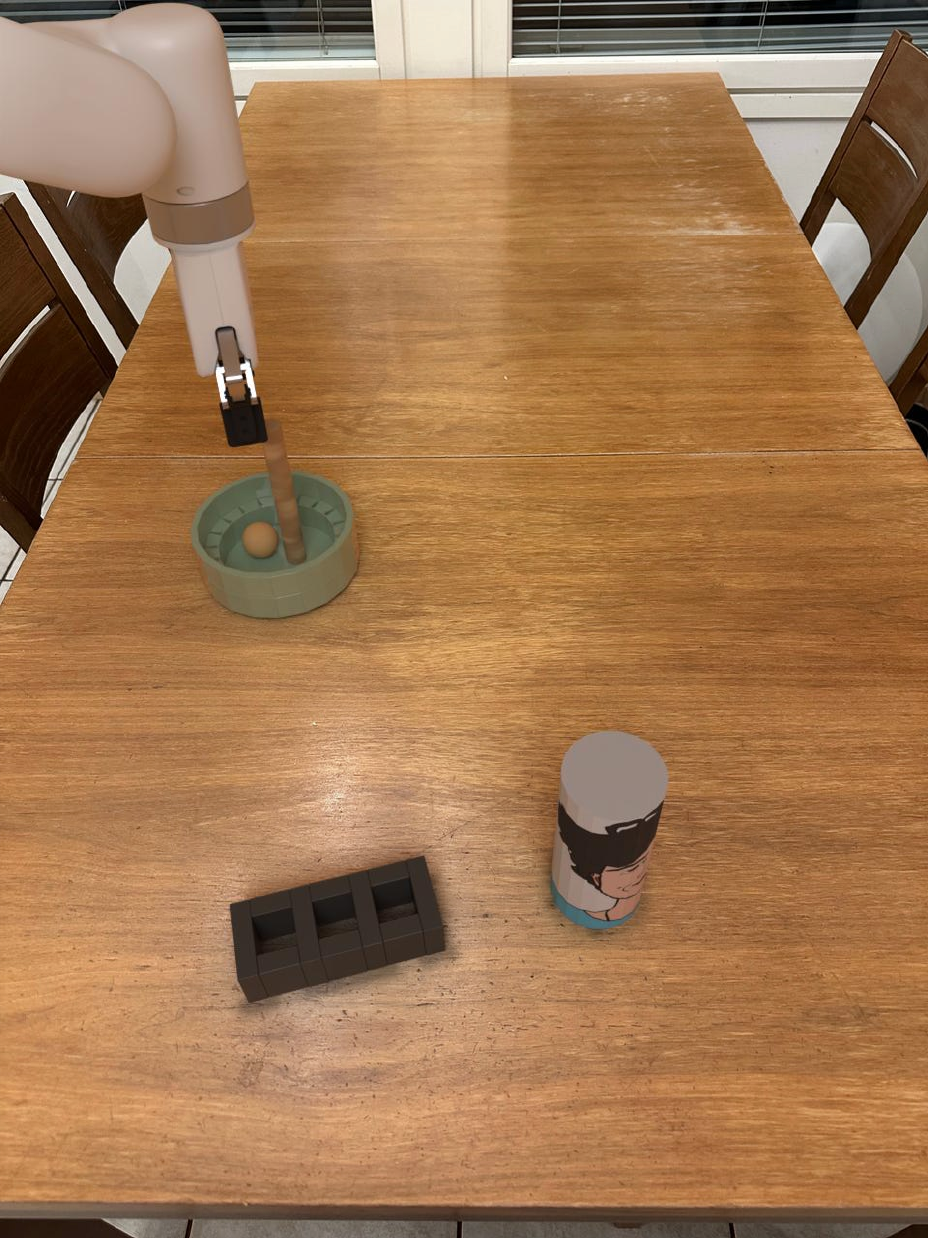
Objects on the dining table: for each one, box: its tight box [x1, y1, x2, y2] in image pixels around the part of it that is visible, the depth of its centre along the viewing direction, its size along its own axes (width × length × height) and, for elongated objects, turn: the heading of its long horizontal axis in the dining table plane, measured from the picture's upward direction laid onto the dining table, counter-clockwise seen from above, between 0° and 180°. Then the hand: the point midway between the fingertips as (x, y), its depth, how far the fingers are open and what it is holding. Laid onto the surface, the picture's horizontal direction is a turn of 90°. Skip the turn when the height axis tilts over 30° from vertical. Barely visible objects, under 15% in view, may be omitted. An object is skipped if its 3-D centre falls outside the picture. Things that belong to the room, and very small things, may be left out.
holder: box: [229, 854, 446, 1004], centre depth 67 cm, size 14×6×4 cm, turn 105°
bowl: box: [189, 469, 361, 619], centre depth 92 cm, size 15×15×6 cm
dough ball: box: [242, 522, 279, 558], centre depth 94 cm, size 4×4×4 cm
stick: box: [261, 417, 307, 564], centre depth 89 cm, size 2×2×16 cm
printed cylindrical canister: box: [549, 730, 670, 930], centre depth 65 cm, size 7×7×15 cm
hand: (242, 409), depth 81 cm, fingers open, 9 cm apart
